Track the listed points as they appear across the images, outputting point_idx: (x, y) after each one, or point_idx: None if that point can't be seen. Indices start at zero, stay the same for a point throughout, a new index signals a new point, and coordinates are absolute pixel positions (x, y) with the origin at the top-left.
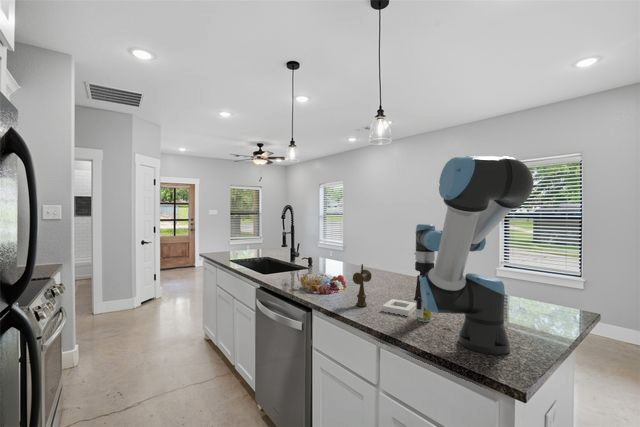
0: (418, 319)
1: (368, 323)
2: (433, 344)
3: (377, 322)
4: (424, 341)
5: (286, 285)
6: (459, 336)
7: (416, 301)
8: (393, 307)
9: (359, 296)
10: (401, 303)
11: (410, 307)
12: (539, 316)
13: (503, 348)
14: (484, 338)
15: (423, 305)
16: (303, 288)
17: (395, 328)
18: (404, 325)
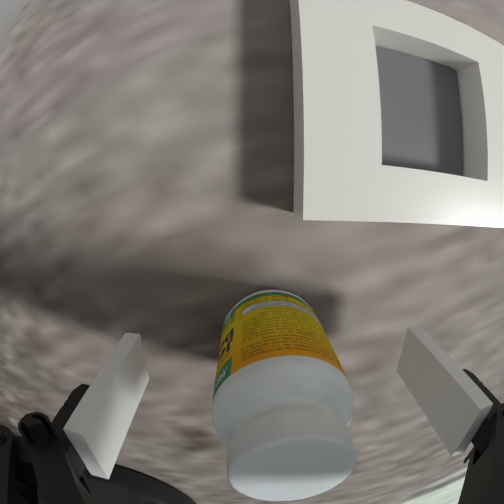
0: (230, 310)
1: (13, 65)
2: (11, 393)
3: (40, 86)
4: (4, 367)
5: None
6: (84, 474)
7: (70, 423)
8: (315, 61)
9: None
10: (480, 112)
11: (408, 207)
12: (455, 500)
13: None
14: None
15: (215, 425)
16: None
17: (14, 220)
18: (79, 248)
